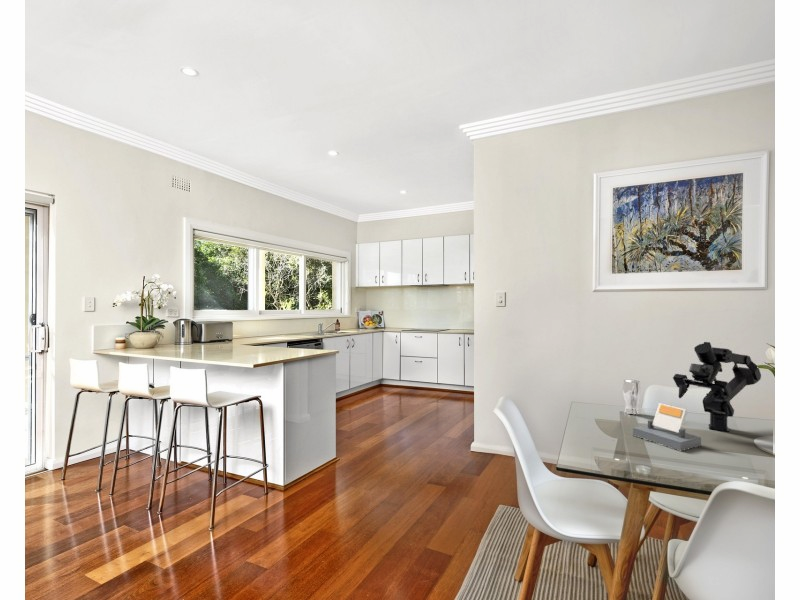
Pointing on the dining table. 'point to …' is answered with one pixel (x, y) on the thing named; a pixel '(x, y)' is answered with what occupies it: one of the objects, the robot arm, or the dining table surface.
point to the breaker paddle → (670, 418)
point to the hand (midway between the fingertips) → (692, 400)
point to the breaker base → (667, 436)
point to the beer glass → (631, 395)
